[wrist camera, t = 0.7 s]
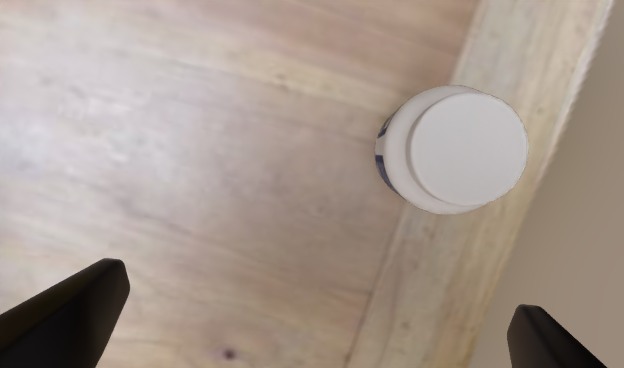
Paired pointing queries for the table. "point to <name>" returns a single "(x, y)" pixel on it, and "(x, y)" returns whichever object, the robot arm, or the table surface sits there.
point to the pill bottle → (452, 149)
